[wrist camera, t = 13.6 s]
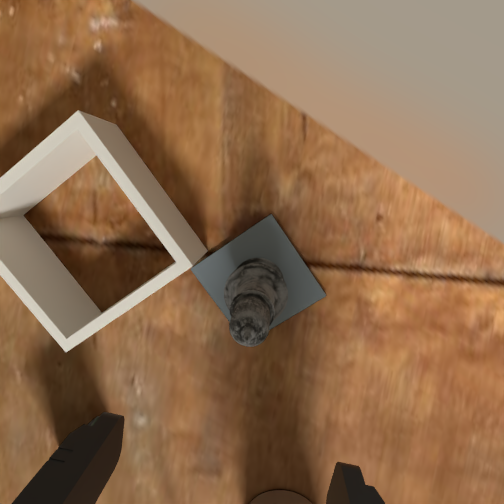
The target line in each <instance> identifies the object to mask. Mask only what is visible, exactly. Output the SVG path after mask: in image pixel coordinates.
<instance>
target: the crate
mask: <svg viewBox="0 0 504 504" xmlns="http://www.w3.org/2000/svg"><path fill="white" fill-rule="evenodd" d="M96 155H97V156H98V158H99V159H100V160H101V162H102V163H103V165H104V166H105V167H106V169H107V170H108V171H109V173H110V174H111V175H112V177H113V178H114V179H115V181H116V182H117V183H118V185H119V186H120V187H121V189H122V190H123V191H124V193H125V194H126V195H127V197H128V198H129V199H130V201H131V202H132V203H133V205H134V206H135V207H136V209H137V210H138V212H139V213H140V214H141V216H142V217H143V218H144V220H145V221H146V222H147V224H148V225H149V226H150V228H151V229H152V230H153V232H154V233H155V234H156V236H157V237H158V238H159V240H160V241H161V242H162V244H163V245H164V246H165V248H166V249H167V250H168V252H169V253H170V254H171V256H172V257H173V258H174V260H175V261H176V262H174V263H173V264H171V265H170V266H168V267H167V268H165V269H164V270H163V271H161V272H160V273H158V274H157V275H155V276H154V277H153V278H151V279H150V280H148V281H147V282H145V283H144V284H142V285H141V286H140V287H138V288H137V289H135V290H134V291H132V292H131V293H130V294H128V295H127V296H125V297H124V298H122V299H121V300H119V301H118V302H117V303H115V304H114V305H112V306H111V307H109V308H108V309H106V310H105V311H104V312H101V311H100V310H99V308H98V307H97V306H96V305H95V304H94V302H93V301H92V300H91V299H90V297H89V296H88V295H87V294H86V292H85V291H84V290H83V289H82V287H81V286H80V285H79V284H78V282H77V281H76V280H75V279H74V277H73V276H72V275H71V274H70V272H69V271H68V270H67V269H66V268H65V266H64V265H63V264H62V263H61V261H60V260H59V259H58V258H57V256H56V255H55V254H54V253H53V251H52V250H51V249H50V248H49V246H48V245H47V244H46V243H45V241H44V240H43V239H42V238H41V237H40V235H39V234H38V233H37V232H36V230H35V229H34V228H33V227H32V225H31V224H30V223H29V222H28V220H27V219H26V218H25V217H24V214H25V213H27V212H28V211H29V210H30V209H32V208H33V207H34V206H35V205H36V204H38V203H39V202H40V201H41V200H43V199H44V198H45V197H46V196H47V195H49V194H50V193H51V192H52V191H53V190H55V189H56V188H57V187H58V186H60V185H61V184H62V183H63V182H64V181H66V180H67V179H68V178H69V177H70V176H72V175H73V174H74V173H75V172H77V171H78V170H79V169H80V168H81V167H83V166H84V165H85V164H86V163H88V162H89V161H90V160H91V159H92V158H94V157H95V156H96ZM207 251H208V250H207V249H206V248H205V246H204V245H203V243H202V242H201V241H200V239H199V238H198V236H197V235H196V234H195V232H194V231H193V230H192V228H191V227H190V225H189V224H188V223H187V221H186V220H185V219H184V217H183V216H182V214H181V213H180V212H179V210H178V209H177V207H176V206H175V205H174V203H173V202H172V201H171V199H170V198H169V196H168V195H167V194H166V192H165V191H164V190H163V188H162V187H161V185H160V184H159V183H158V181H157V180H156V178H155V177H154V176H153V174H152V173H151V172H150V170H149V169H148V167H147V166H146V165H145V163H144V162H143V160H142V159H141V158H140V156H139V155H138V154H137V152H136V151H135V149H134V148H133V147H132V145H131V144H130V143H129V141H128V140H127V138H126V137H125V136H124V134H123V133H122V131H121V130H120V129H119V127H118V126H117V125H116V124H114V123H111V122H108V121H106V120H103V119H100V118H98V117H95V116H92V115H90V114H87V113H84V112H82V111H79V110H78V111H77V112H76V113H74V114H73V115H72V116H71V117H70V118H69V119H68V120H66V121H65V122H64V123H63V124H62V125H61V126H59V127H58V128H57V129H56V130H55V131H54V132H53V133H51V134H50V135H49V136H48V137H47V138H46V139H45V140H43V141H42V142H41V143H40V144H39V145H38V146H36V147H35V148H34V149H33V150H32V151H31V152H30V153H28V154H27V155H26V156H25V157H24V158H23V159H22V160H20V161H19V162H18V163H17V164H16V165H15V166H13V167H12V168H11V169H10V170H9V171H8V172H7V173H5V174H4V175H3V176H2V177H1V178H0V275H1V276H2V278H3V279H4V280H5V281H6V282H7V284H8V285H9V286H10V287H11V288H12V289H13V291H14V292H15V293H16V294H17V295H18V297H19V298H20V299H21V300H22V301H23V302H24V304H25V305H26V306H27V307H28V308H29V310H30V311H31V312H32V313H33V314H34V315H35V317H36V318H37V319H38V320H39V321H40V323H41V324H42V325H43V326H44V327H45V329H46V330H47V331H48V332H49V333H50V334H51V336H52V337H53V338H54V339H55V340H56V342H57V343H58V344H59V345H60V346H61V347H62V349H63V350H64V351H65V352H68V351H69V350H70V349H72V348H73V347H75V346H76V345H78V344H79V343H81V342H82V341H84V340H85V339H87V338H88V337H90V336H91V335H92V334H94V333H95V332H97V331H98V330H100V329H101V328H103V327H104V326H106V325H107V324H109V323H110V322H111V321H113V320H114V319H116V318H117V317H119V316H120V315H122V314H123V313H125V312H126V311H128V310H129V309H131V308H132V307H133V306H135V305H136V304H138V303H139V302H141V301H142V300H144V299H145V298H147V297H148V296H150V295H151V294H152V293H154V292H155V291H157V290H158V289H160V288H161V287H163V286H164V285H166V284H167V283H169V282H170V281H172V280H173V279H174V278H176V277H177V276H179V275H180V274H182V273H183V272H185V271H186V270H188V269H189V268H191V267H192V266H193V265H194V264H195V263H196V262H197V261H198V260H199V259H200V258H201V257H202V256H203V255H204V254H205V253H206V252H207Z"/></svg>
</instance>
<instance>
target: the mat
mask: <svg viewBox="0 0 504 504" xmlns="http://www.w3.org/2000/svg"><path fill="white" fill-rule="evenodd" d="M252 258H264V259H267V260H270V261H271V262H273V263H274V264H275V265H276V266H277V267H278V268H279V269H280V271H281V272H282V275H283V278H284V281H285V283H286V286H287V290H288V300H287V304H286V307H285V309H284V310H283V312H282V313H281V314H280V315H279V316H278V317H277V318H276V319H275V320H273V322H272V323H271V325H270V326H269V330H270V329H272V328H274V327H275V326H277V325H279V324H280V323H282V322H284V321H285V320H287V319H289V318H290V317H292V316H294V315H295V314H297V313H299V312H300V311H302V310H304V309H305V308H307V307H309V306H310V305H312V304H314V303H315V302H317V301H319V300H320V299H322V298H324V297H325V296H326V294H325V292H324V291H323V289H322V288H321V286H320V285H319V283H318V282H317V280H316V279H315V278H314V276H313V275H312V273H311V272H310V270H309V269H308V267H307V266H306V264H305V263H304V261H303V260H302V258H301V257H300V255H299V254H298V252H297V251H296V249H295V248H294V246H293V245H292V244H291V242H290V241H289V239H288V238H287V236H286V235H285V233H284V232H283V230H282V229H281V227H280V226H279V224H278V223H277V221H276V220H275V218H274V217H273V215H272V214H270V215H269V216H267V217H266V218H264V219H263V220H261V221H260V222H258V223H257V224H255V225H254V226H252V227H251V228H249V229H248V230H247V231H245V232H244V233H242V234H241V235H239V236H238V237H236V238H235V239H233V240H232V241H230V242H229V243H227V244H226V245H225V246H223V247H222V248H220V249H219V250H217V251H216V252H214V253H213V254H211V255H210V256H208V257H207V258H205V259H204V260H203V261H201V262H200V263H198V264H197V265H195V266H194V267H192V268H191V271H192V272H193V273H194V275H195V276H196V277H197V279H198V280H199V281H200V283H201V284H202V285H203V287H204V288H205V289H206V291H207V292H208V293H209V295H210V296H211V298H212V299H213V300H214V302H215V303H216V304H217V306H218V307H219V308H220V310H221V311H222V312H223V314H224V315H225V316H226V318H227V319H228V321H229V322H230V319H231V315H230V311H229V309H228V307H227V306H226V303H225V299H224V287H225V284H226V281H227V279H228V278H229V276H230V275H231V274H232V273H233V272H234V271H235V270H236V269H237V267H238V266H239V265H240V264H241V263H242V262H244V261H246V260H248V259H252Z"/></svg>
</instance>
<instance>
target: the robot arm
mask: <svg viewBox="0 0 504 504" xmlns="http://www.w3.org/2000/svg"><path fill="white" fill-rule="evenodd" d="M123 429H124V416H122V415H117V414H112V413H107V412H103V413H102V414H101V415H100V416H99V418H98V419H97V420H96V421H95V423H94V424H93V425H92V426H89V425H85V424H84V425H82V426H81V427H79V428H78V429H76V430H75V431H73V432H72V433H70V434H69V435H68V436H67V438H66V439H65V440H64V441H63V442H62V444H61V445H60V446H59V447H58V450H56V451H55V452H54V453H53V454H52V456H51V457H50V458H49V461H47V462H46V463H45V464H44V465H43V466H42V468H41V469H40V470H39V471H38V473H37V474H36V475H35V476H34V477H33V479H32V480H31V481H30V482H29V483H28V485H27V486H26V487H25V488H24V489H23V491H22V492H21V493H20V494H19V495H18V497H17V498H16V499H15V500H14V501H13V503H12V504H95V503H96V501H97V499H98V497H99V496H100V494H101V492H102V490H103V489H104V487H105V485H106V483H107V482H108V480H109V478H110V476H111V474H112V473H113V471H114V469H115V467H116V465H117V462H118V460H119V457H120V453H121V448H122V438H123ZM250 504H312V503H311V502H310V501H309V500H308V499H306V498H305V497H303V496H301V495H300V494H297V493H294V492H291V491H285V490H274V491H268V492H265V493H263V494H260V495H259V496H257V497H256V498H254V499H253V500H252V501H251V502H250ZM326 504H385V502H384V501H383V499H382V498H381V496H380V495H379V494H378V492H377V491H376V489H375V488H374V487H373V486H368V485H365V482H364V479H363V475H362V472H361V469H360V467H359V466H356V465H351V464H346V463H341V462H337V463H336V466H335V469H334V473H333V476H332V480H331V483H330V487H329V490H328V494H327V500H326Z"/></svg>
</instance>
